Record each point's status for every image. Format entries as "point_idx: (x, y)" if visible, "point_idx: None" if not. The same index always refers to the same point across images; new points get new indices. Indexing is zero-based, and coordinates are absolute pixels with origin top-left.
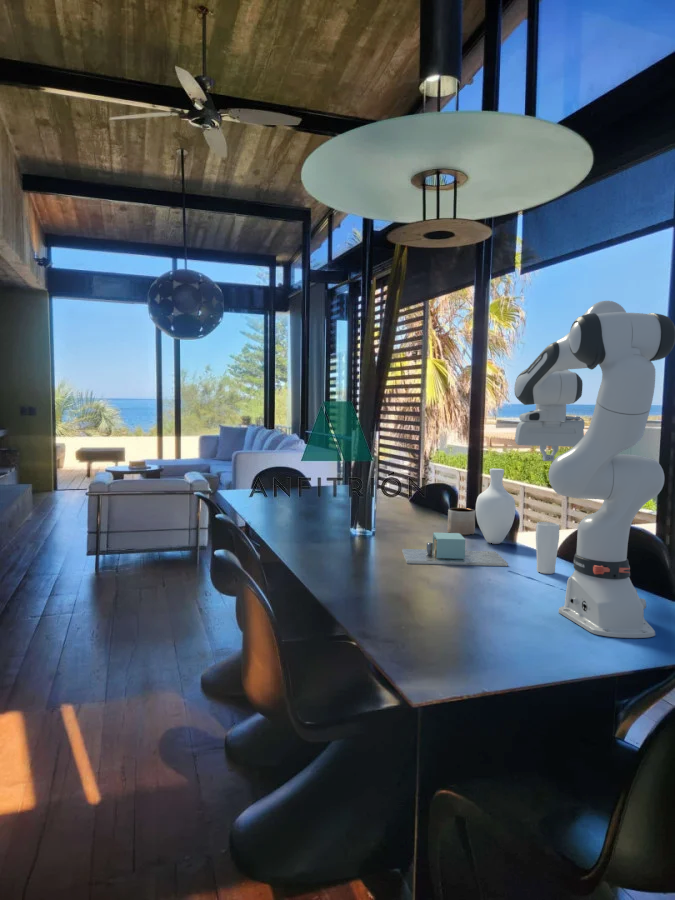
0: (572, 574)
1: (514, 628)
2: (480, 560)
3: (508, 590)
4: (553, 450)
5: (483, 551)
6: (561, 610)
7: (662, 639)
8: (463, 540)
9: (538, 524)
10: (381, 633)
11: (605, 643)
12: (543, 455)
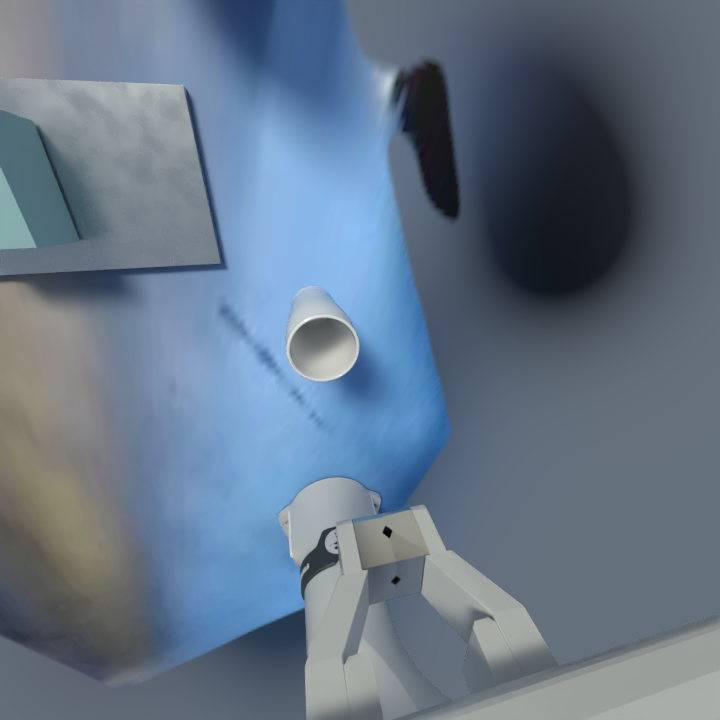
0: (297, 557)
1: (211, 570)
2: (135, 243)
3: (212, 443)
4: (477, 613)
5: (135, 91)
6: (280, 523)
7: None
8: (30, 247)
9: (289, 362)
10: (39, 626)
11: None
12: (343, 578)
